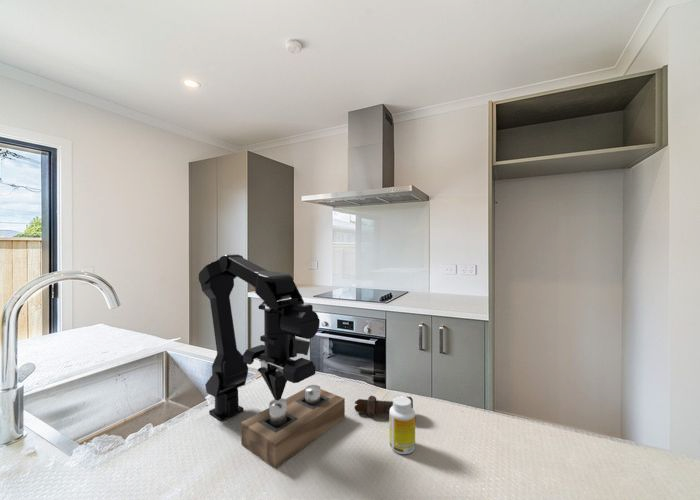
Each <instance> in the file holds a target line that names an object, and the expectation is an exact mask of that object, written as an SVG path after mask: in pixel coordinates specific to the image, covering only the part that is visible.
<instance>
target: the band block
mask: <svg viewBox="0 0 700 500" xmlns="http://www.w3.org/2000/svg"><path fill="white" fill-rule="evenodd" d="M284 399H285V400H286V401H287V423H285V424H284V425H282V426H280V427H279V428H277V429H276V428H274V427H273V426H271V425H270V411H269V407H268V408H265V409H264V410H262V411H261V412H260V411H259V412H258V413H256V414H255V415H253V416H251V417H249V418H247V419H245V420H243V421H241V422H240V423H241V424H240V425H241V426H240V427H241V428H240V429H241V430H240V431H241V432H240V433H241V435H240V436H241V437H240V438H241V440H240V441H241V443H240V444H241V446H243V447H244V448H245V449H247V450H248V451H250V452H251V453H253V454H254V455H255V456H256V457H258V458H259V459H260V460H262V461H264V462H265V463H267V464H268V465H269V466H271V467H272V468H273V469H275V470H276V469H278V468H280V467H281V466H283V464H285V463H286V462H287V461H289V460H291V459H292V458H293V457H294V456H296V455H297V454H298V453H299V452H301V451H302V450H303V449H305V448H306V447H308V446H309V445H310V444H311V443H313V442H314V441H316V440H317V439H318V438H319V437H321V436H322V435H324V434H325V433H326V432H328V431H329V430H331V428H333V427H335V426H336V425H337V424H338V423H340V422H341V421H343V419H345V418H346V415H345V413H346V407H345V404H346V403H345V401H346V400H345V397H342V396H339V395H337V394H334V393H331V392H330V391H327V390H325V389H322V388H320V403H318V404H316V405H315V406H311V405H308V404H306V403H305V388H304V389H302V390H299V391H298V392H296V393H294V394H292V395H290V396H289V397H287V398H284Z"/></svg>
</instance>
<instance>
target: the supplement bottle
mask: <svg viewBox="0 0 700 500" xmlns="http://www.w3.org/2000/svg"><path fill="white" fill-rule="evenodd" d="M407 397H408V396H402V395H400V396H396V397H394V398H393V400H392V402H393V406H392V407H391V408H390V411H389V416H388V417H389V422H388V423H389V445H390V448H391V449H392V450H393V451H394V452H395V453H397V454H400V455H408V454H411V453H413V451H415V449H416V413H415V409H414V407H413V408H412V406H411V400H410V399H409V398H407Z"/></svg>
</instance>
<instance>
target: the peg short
mask: <svg viewBox="0 0 700 500" xmlns="http://www.w3.org/2000/svg"><path fill="white" fill-rule="evenodd" d="M304 389H305V403H306V404H308V405H311V406H315V405H316V404H318V403H320V389H321V387H320V386H319V385H318V384H310V385H307V386H306V387H305V388H304Z"/></svg>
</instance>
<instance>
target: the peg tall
mask: <svg viewBox="0 0 700 500" xmlns="http://www.w3.org/2000/svg"><path fill="white" fill-rule="evenodd" d="M285 399H286V398H282V397H281V399H280V400H278V401H277V400H275V399H274V398H273V399H272V400H271V401H270V402H269V407H268V408H269V411H270V425H271V426H273V427H274V428H276V429H277V428H279V427H280V426H282V425H284V424H285V423H287V401H286V400H285Z"/></svg>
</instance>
